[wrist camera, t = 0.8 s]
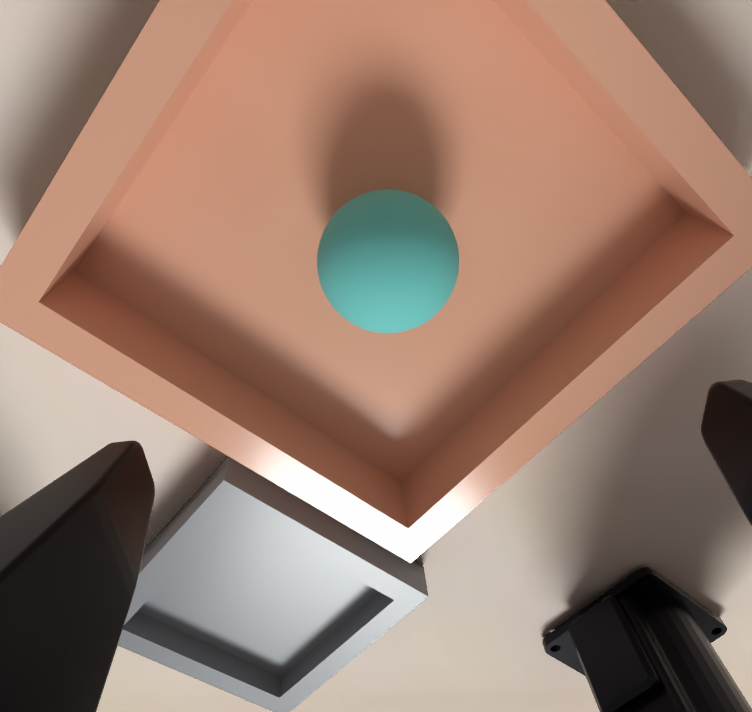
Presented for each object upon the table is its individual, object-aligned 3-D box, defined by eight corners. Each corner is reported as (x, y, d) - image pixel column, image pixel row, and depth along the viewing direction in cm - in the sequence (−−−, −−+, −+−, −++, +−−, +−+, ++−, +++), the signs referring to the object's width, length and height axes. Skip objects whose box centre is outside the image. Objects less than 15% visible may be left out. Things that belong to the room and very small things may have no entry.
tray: (423, 566, 26) (428, 596, 24) (287, 683, 29) (284, 716, 27) (231, 452, 22) (223, 480, 21) (100, 599, 25) (86, 632, 24)
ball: (472, 233, 18) (504, 277, 15) (389, 324, 20) (400, 384, 16) (376, 147, 17) (385, 172, 13) (293, 250, 18) (282, 298, 15)
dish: (730, 204, 19) (794, 229, 16) (402, 506, 24) (410, 563, 21) (345, -242, 13) (346, -313, 11) (27, 271, 19) (-24, 307, 16)
